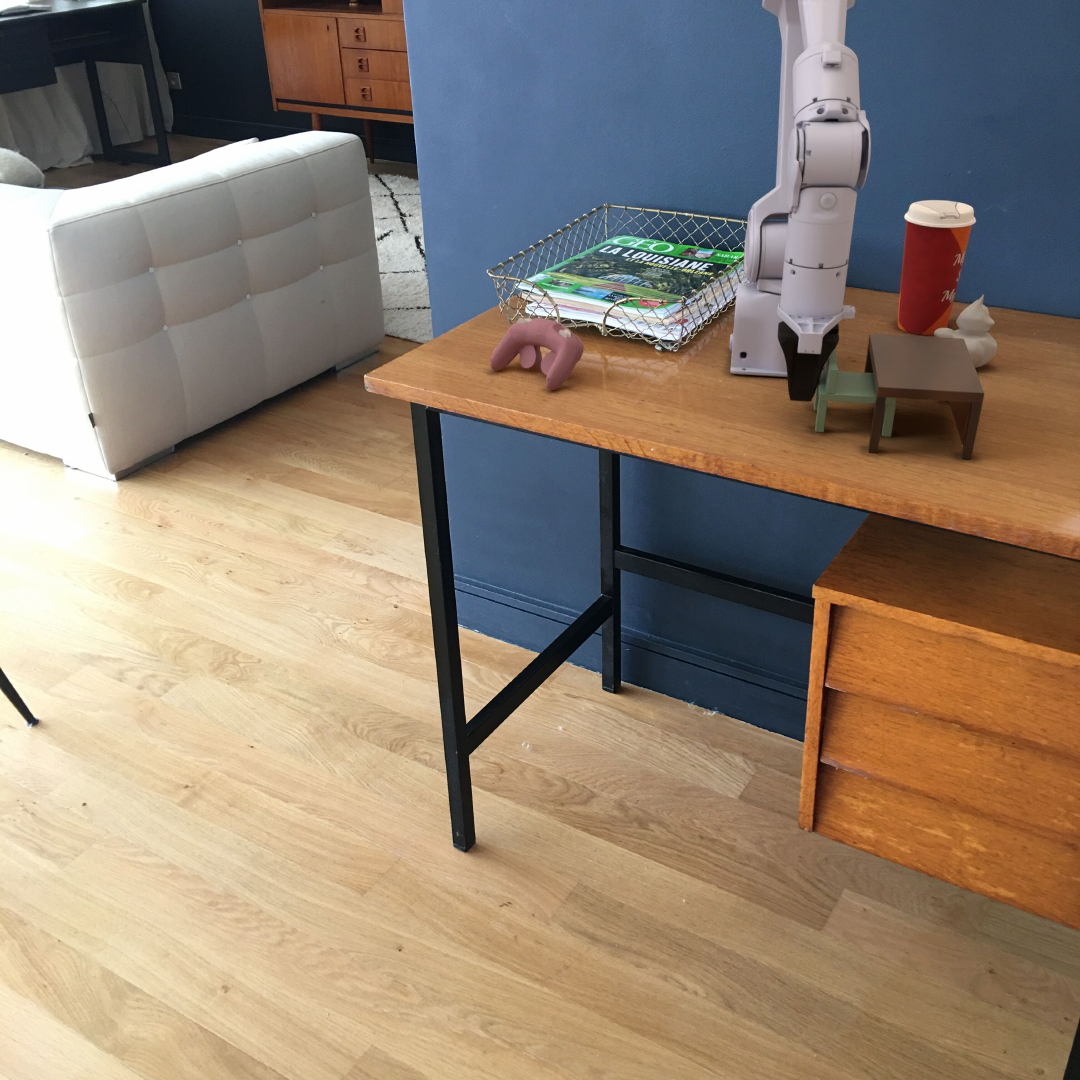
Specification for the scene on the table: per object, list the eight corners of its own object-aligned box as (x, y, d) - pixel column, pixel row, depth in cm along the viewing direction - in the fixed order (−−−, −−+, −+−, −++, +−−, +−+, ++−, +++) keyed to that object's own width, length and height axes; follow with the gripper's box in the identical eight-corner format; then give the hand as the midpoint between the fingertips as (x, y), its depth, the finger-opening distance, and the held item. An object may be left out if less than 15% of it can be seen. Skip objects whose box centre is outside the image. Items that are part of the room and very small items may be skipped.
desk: (868, 452, 101) (878, 386, 98) (860, 394, 113) (869, 333, 109) (971, 459, 99) (984, 392, 96) (952, 399, 111) (964, 338, 108)
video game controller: (576, 397, 117) (595, 333, 116) (550, 390, 113) (570, 324, 112) (509, 374, 123) (528, 313, 122) (483, 367, 119) (501, 304, 118)
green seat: (815, 432, 105) (822, 369, 102) (813, 407, 110) (820, 346, 107) (890, 436, 104) (901, 373, 100) (885, 411, 109) (895, 350, 106)
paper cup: (964, 337, 126) (987, 214, 119) (897, 338, 127) (916, 215, 119) (944, 315, 133) (964, 198, 126) (880, 316, 133) (897, 198, 126)
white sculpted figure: (993, 377, 116) (1008, 303, 112) (927, 370, 118) (940, 298, 114) (993, 359, 120) (1007, 288, 116) (930, 353, 122) (942, 282, 118)
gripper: (865, 285, 93) (845, 431, 100) (858, 240, 105) (840, 373, 112) (780, 282, 94) (766, 426, 101) (783, 237, 107) (770, 369, 114)
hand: (800, 398), depth 107 cm, fingers closed, pressing on green seat
